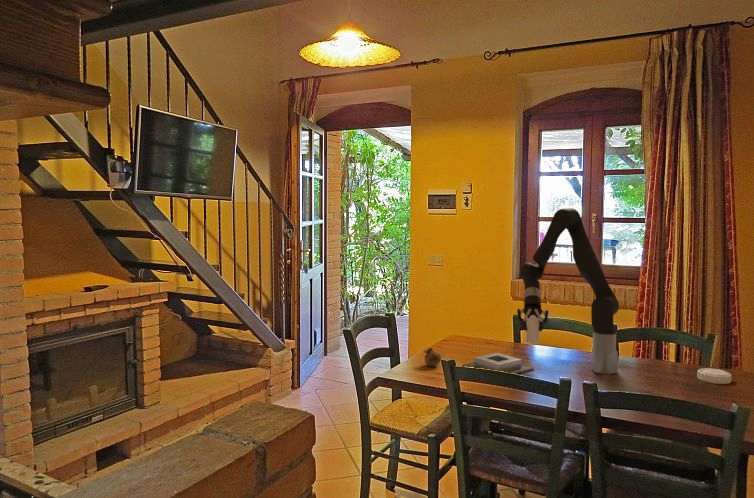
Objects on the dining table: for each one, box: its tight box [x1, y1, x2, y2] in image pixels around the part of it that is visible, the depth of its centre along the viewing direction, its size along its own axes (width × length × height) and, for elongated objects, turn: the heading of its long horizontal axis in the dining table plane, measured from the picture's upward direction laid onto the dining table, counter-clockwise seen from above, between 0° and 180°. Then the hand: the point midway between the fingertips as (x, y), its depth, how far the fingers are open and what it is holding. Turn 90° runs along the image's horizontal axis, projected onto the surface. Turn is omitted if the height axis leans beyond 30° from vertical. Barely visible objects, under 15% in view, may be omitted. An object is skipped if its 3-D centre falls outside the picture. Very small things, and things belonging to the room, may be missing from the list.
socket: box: [461, 352, 535, 375], centre depth 240 cm, size 22×22×4 cm
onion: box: [423, 347, 442, 367], centre depth 244 cm, size 8×8×8 cm
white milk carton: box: [525, 315, 540, 343], centre depth 240 cm, size 6×12×6 cm
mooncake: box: [696, 367, 732, 385], centre depth 223 cm, size 12×12×4 cm
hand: (532, 330), depth 238 cm, fingers closed on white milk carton, 6 cm apart
